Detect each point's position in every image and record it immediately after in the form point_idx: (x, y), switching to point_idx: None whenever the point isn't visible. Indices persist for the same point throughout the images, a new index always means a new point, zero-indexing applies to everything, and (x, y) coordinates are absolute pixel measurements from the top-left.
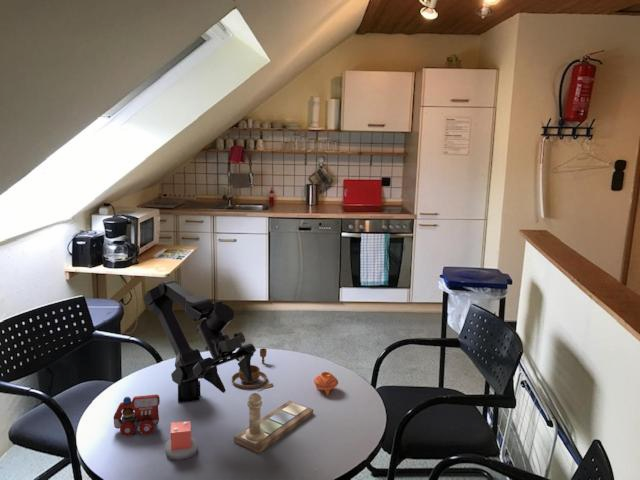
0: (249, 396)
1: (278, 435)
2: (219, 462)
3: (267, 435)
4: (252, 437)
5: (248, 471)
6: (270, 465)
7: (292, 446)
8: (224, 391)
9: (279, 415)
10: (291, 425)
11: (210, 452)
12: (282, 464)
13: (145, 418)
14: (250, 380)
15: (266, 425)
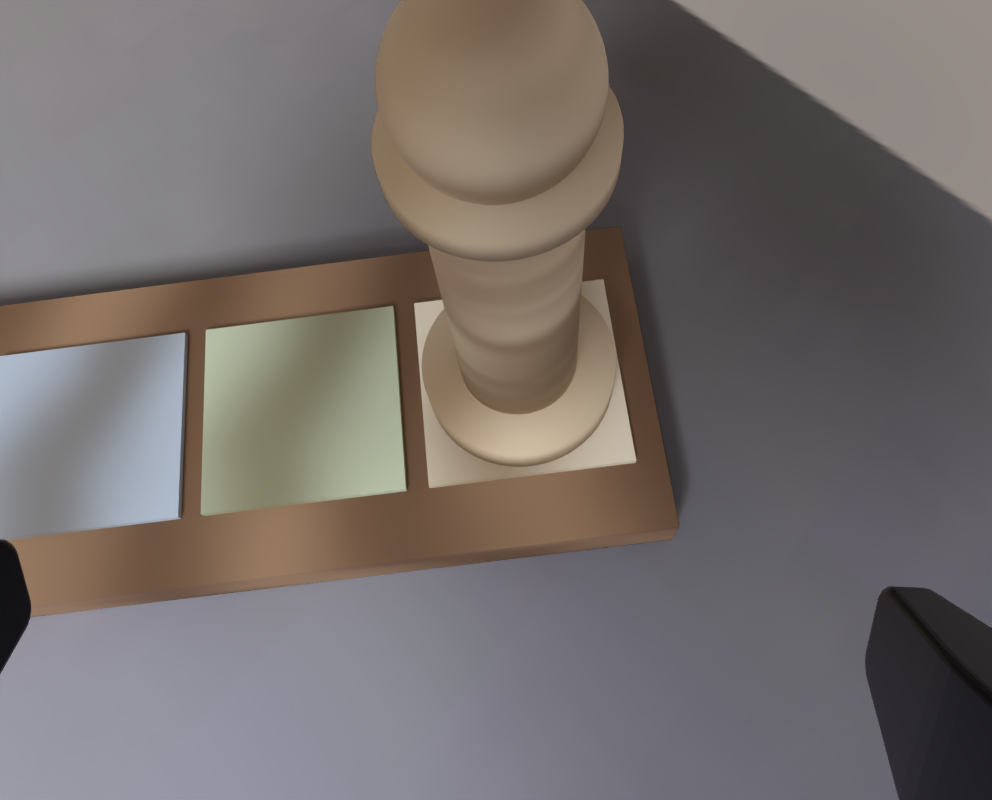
0: (564, 96)
1: (346, 267)
2: (967, 381)
3: (433, 300)
4: (598, 313)
5: (831, 147)
6: (655, 98)
7: (360, 150)
8: (926, 591)
9: (68, 476)
10: (147, 289)
11: (963, 564)
12: None
13: None
14: (3, 570)
15: (304, 433)
